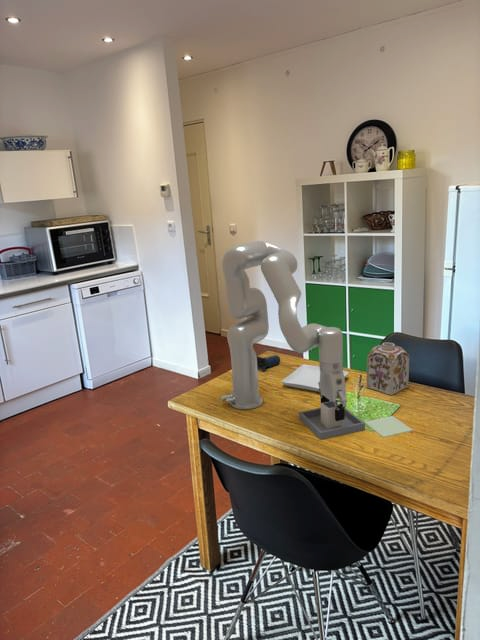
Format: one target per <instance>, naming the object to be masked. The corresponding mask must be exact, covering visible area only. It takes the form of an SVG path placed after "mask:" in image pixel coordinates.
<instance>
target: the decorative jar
mask: <svg viewBox="0 0 480 640" xmlns="http://www.w3.org/2000/svg"><path fill="white" fill-rule="evenodd" d="M409 374H410V354H408V352H407V351H406V350H405V349H404V348H403V347H401V346H399V345H396V344H395V343H393V342H387V341H386V342H382V344H378V345H377V346H374V347H372V349H371V350H370V351H369V353H368V354H367V357H366V388H367V389H368V390H369V389H370V390H372V391H376V392H378V393H381V394H385V395H388V396H394V395H396V394H398V393H399V392H402V391H403V390H404V389H407V388H408V387H409V377H410V375H409Z"/></svg>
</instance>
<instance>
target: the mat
mask: <svg viewBox="0 0 480 640" xmlns="http://www.w3.org/2000/svg"><path fill="white" fill-rule="evenodd" d="M363 422H364V423H365V425H367V426H368V427H369V428H371V429H372V430H373V431H374V432H375V433H377V434H378V435H379V436H380V437H382V438H388V437H392V436H396V435H400V434H404V433H414V430H413V429H412V428H411V427H409V426H408V425H406V424H405V423H403V422H402V421H400V420H399V419H398V418H396V417H395V416H393V415H390V416H385V417H382V418H376V419H372V420H371V419H370V420H367V421H363Z"/></svg>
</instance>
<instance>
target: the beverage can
mask: <svg viewBox="0 0 480 640" xmlns="http://www.w3.org/2000/svg"><path fill="white" fill-rule="evenodd" d="M256 356H257V370H258V371H259V370H260V371H261V372H264V373H265V372H266V368H270V367H273V366H277V365H279V364H280V363H281V358H280V356H279V355H276V354H275V355H270V356H266V357H261V356H258V355H256Z"/></svg>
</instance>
